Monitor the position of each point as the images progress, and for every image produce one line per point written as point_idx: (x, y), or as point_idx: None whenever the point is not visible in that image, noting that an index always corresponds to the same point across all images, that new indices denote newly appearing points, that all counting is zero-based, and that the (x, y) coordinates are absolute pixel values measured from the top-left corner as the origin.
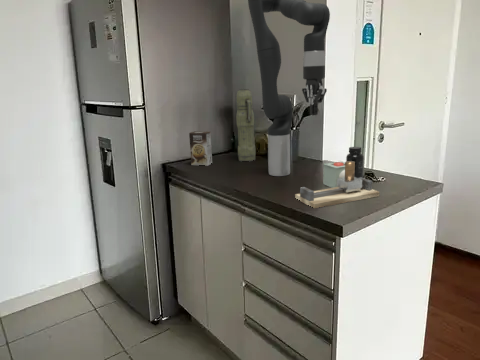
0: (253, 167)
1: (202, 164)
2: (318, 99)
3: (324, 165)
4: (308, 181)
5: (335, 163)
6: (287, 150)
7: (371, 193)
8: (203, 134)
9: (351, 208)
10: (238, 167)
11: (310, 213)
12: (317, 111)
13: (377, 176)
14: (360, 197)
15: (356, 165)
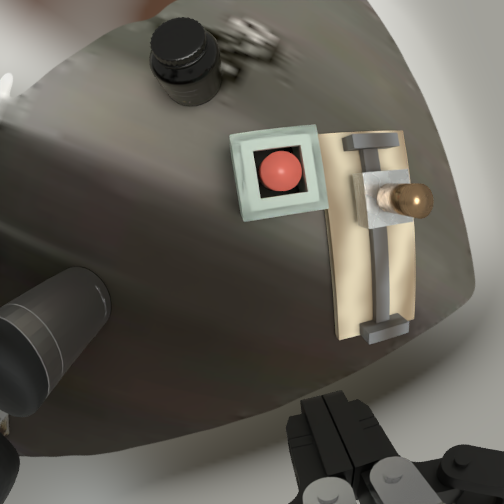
0: None
1: (7, 421)
2: (463, 491)
3: (252, 220)
4: (192, 246)
5: (280, 184)
6: (65, 314)
7: (406, 156)
8: None
9: (438, 241)
10: None
11: (423, 328)
12: (370, 411)
13: (223, 26)
14: None
15: (218, 72)
